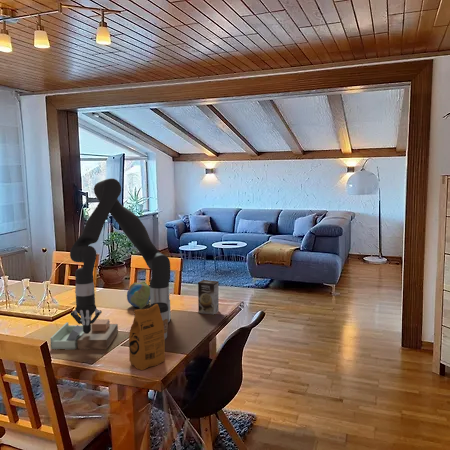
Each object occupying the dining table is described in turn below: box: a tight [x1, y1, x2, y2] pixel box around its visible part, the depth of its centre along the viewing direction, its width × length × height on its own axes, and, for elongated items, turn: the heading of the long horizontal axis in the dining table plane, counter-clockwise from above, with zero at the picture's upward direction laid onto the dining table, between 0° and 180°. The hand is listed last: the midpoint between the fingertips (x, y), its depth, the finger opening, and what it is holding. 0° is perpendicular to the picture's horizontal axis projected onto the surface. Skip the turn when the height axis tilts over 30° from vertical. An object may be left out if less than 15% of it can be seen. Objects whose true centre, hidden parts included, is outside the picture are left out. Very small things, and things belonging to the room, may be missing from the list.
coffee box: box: [197, 279, 220, 316], centre depth 220 cm, size 9×6×16 cm
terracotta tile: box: [92, 318, 111, 331], centre depth 188 cm, size 6×6×3 cm
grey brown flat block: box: [77, 323, 119, 350], centre depth 185 cm, size 12×18×4 cm, turn 0°
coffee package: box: [128, 304, 166, 371], centre depth 162 cm, size 10×12×22 cm
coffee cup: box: [148, 302, 169, 340], centre depth 186 cm, size 8×8×15 cm
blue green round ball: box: [126, 281, 150, 309], centre depth 230 cm, size 14×16×15 cm
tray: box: [49, 322, 84, 351], centre depth 185 cm, size 10×18×5 cm, turn 0°
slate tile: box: [66, 324, 83, 341], centre depth 181 cm, size 6×6×3 cm
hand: (87, 332), depth 180 cm, fingers closed
